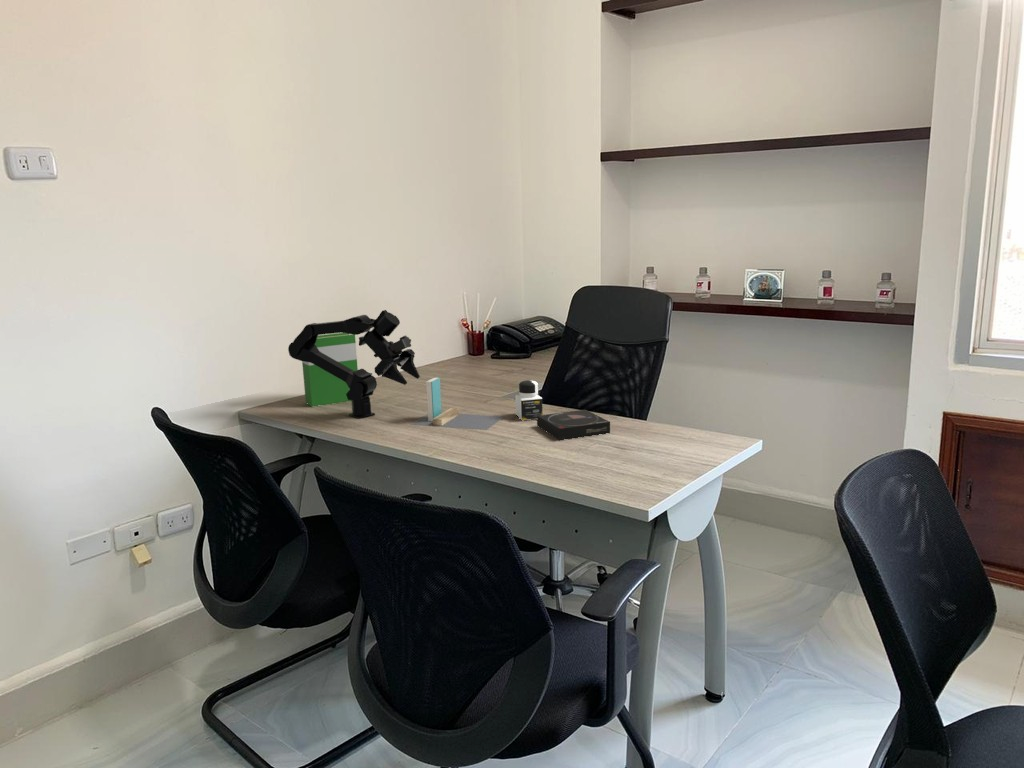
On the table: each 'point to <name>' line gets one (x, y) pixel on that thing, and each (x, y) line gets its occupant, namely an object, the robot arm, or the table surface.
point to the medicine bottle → (528, 401)
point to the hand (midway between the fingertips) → (412, 380)
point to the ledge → (446, 416)
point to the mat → (464, 421)
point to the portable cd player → (573, 424)
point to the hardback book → (324, 384)
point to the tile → (433, 398)
